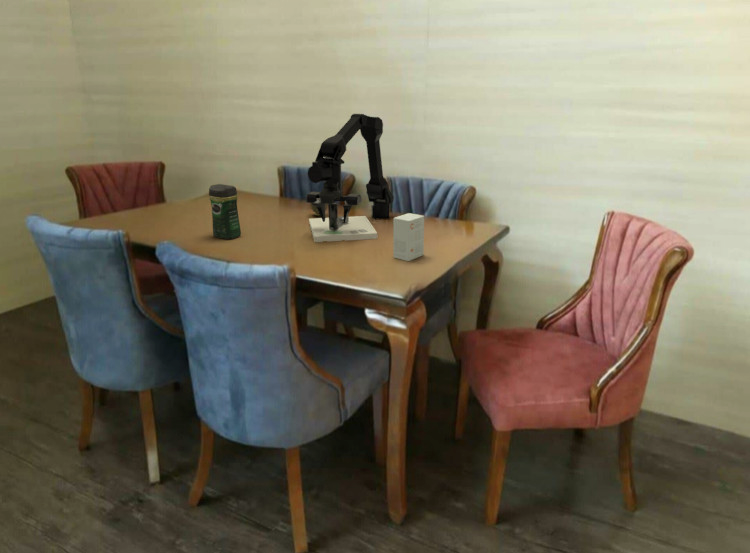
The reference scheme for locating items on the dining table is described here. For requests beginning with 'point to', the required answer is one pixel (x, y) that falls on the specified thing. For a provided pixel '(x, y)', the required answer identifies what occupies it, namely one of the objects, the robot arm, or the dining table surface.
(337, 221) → the dark knobbed cylinder
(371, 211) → the robot arm
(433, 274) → the dining table surface
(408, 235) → the small box
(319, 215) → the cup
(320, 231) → the dial plate
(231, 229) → the coffee jar
